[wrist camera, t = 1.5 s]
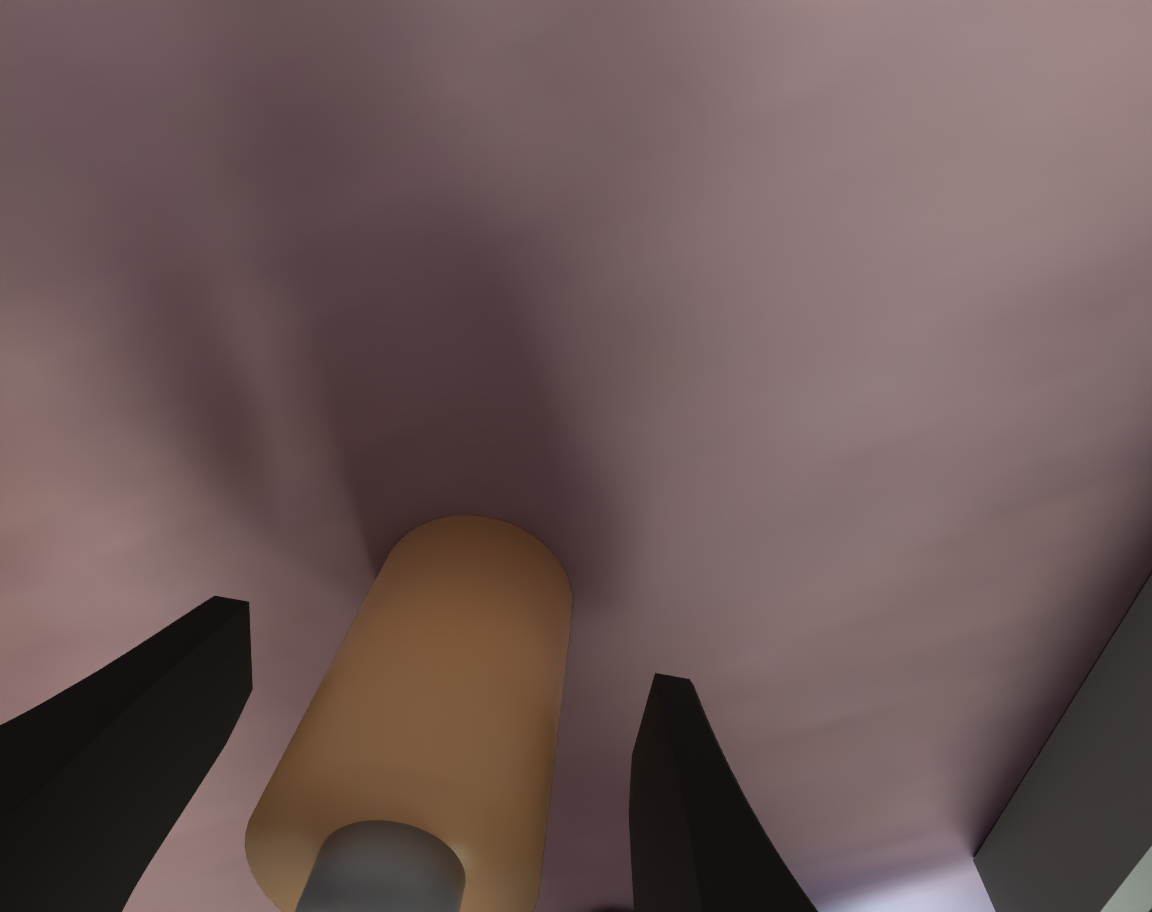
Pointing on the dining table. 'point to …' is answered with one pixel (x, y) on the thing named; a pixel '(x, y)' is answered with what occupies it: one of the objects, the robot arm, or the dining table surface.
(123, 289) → the dining table surface
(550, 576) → the orange battery
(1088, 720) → the housing
